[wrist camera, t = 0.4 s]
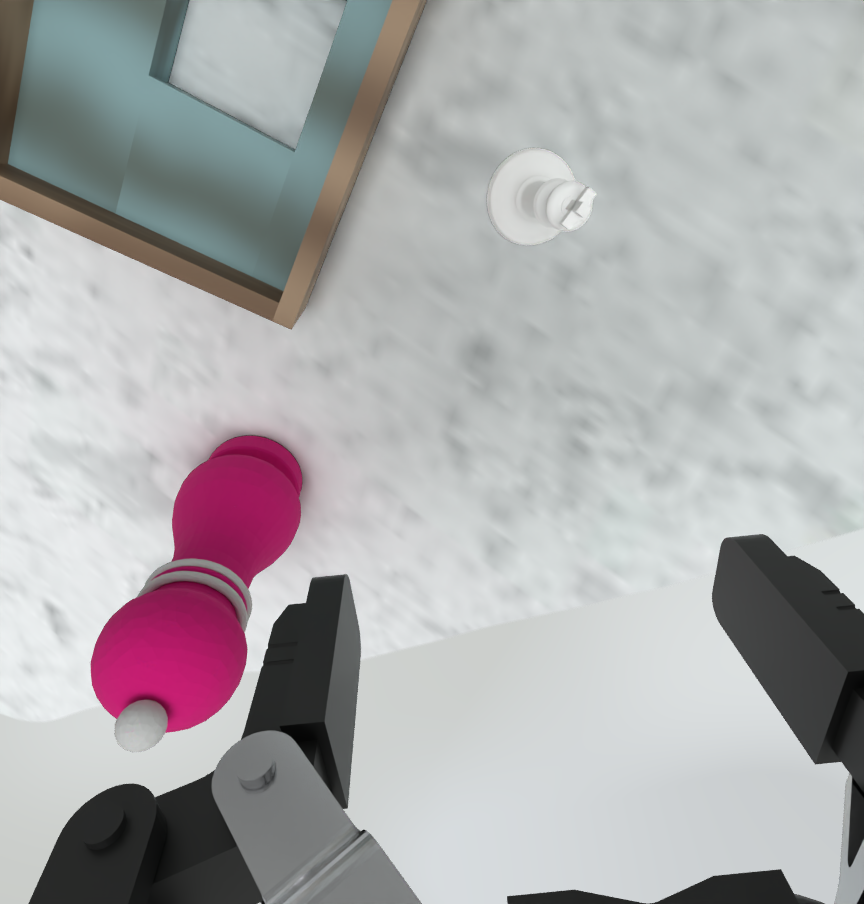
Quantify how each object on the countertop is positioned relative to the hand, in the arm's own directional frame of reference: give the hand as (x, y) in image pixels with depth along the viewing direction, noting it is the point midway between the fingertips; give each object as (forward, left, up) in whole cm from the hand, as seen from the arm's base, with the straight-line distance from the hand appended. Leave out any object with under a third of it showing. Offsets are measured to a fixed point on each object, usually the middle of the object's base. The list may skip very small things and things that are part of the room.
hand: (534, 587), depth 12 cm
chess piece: (-8, +1, -25) cm, 26 cm away
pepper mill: (+15, -7, -25) cm, 30 cm away
